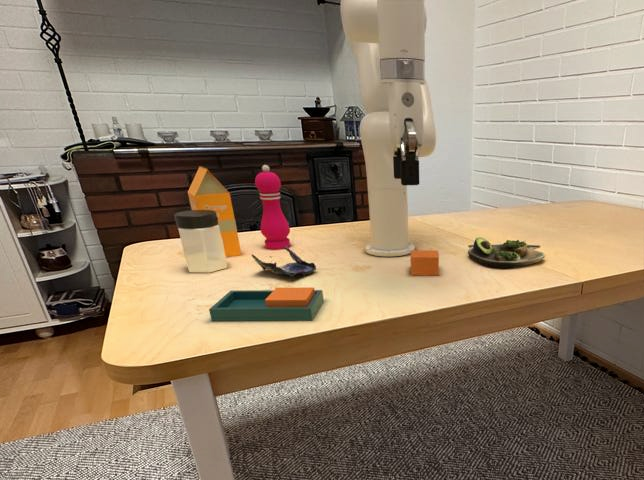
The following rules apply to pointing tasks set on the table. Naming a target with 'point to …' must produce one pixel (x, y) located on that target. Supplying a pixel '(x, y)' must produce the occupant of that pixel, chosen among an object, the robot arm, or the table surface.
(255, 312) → the tray
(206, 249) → the jar
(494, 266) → the salad plate
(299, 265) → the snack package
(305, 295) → the fitted pad
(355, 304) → the table surface
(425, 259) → the orange block
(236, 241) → the orange juice
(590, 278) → the table surface
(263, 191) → the pepper mill
